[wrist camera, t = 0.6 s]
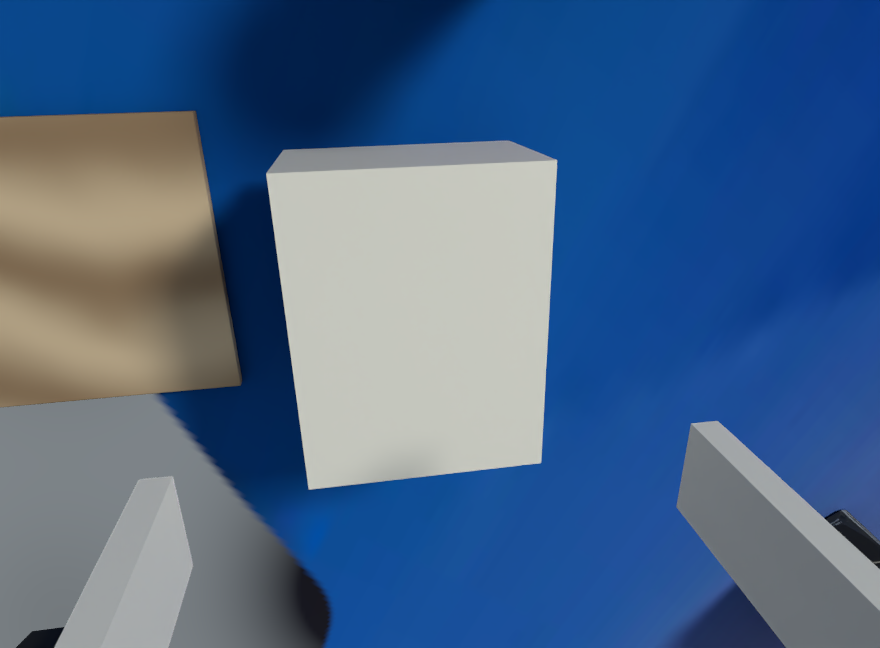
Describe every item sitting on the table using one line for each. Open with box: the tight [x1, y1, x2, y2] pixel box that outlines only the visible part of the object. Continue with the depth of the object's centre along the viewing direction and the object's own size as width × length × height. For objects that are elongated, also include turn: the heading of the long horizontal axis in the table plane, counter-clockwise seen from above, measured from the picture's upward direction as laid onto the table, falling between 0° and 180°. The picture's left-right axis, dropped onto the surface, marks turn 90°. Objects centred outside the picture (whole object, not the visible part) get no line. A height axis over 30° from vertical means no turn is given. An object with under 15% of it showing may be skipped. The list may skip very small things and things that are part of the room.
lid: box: [266, 141, 557, 490], centre depth 26 cm, size 13×10×7 cm
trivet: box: [0, 111, 242, 407], centre depth 29 cm, size 14×14×1 cm
